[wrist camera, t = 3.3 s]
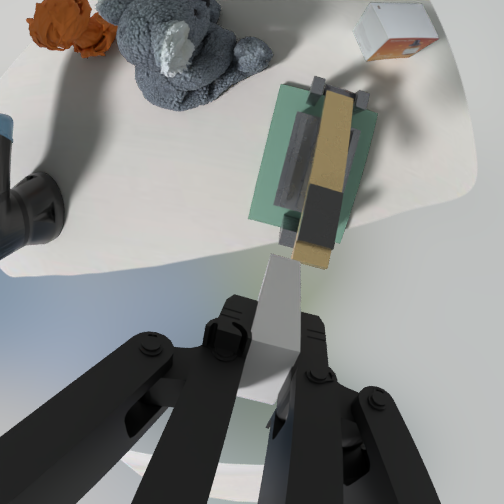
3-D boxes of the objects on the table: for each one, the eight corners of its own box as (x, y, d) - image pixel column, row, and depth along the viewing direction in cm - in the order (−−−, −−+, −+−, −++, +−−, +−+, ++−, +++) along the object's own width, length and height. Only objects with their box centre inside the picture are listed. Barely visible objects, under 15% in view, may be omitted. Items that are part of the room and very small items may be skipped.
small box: (364, 62, 31) (387, 39, 21) (351, 30, 29) (368, 1, 19) (410, 58, 29) (441, 39, 19) (396, 27, 27) (423, 2, 17)
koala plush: (282, 62, 32) (275, -2, 14) (188, 139, 38) (113, 141, 20) (208, -2, 29) (160, -68, 11) (126, 71, 35) (42, 48, 17)
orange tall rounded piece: (132, 4, 29) (71, -33, 13) (127, 52, 33) (54, 26, 17) (84, 24, 31) (19, 3, 14) (78, 70, 35) (6, 60, 18)
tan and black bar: (323, 89, 26) (327, 79, 25) (352, 98, 26) (357, 88, 25) (287, 260, 23) (290, 257, 22) (325, 270, 23) (331, 268, 22)
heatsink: (302, 90, 34) (306, 72, 24) (356, 107, 33) (378, 96, 24) (268, 221, 41) (262, 246, 32) (320, 235, 41) (329, 264, 32)
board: (280, 85, 34) (280, 84, 33) (375, 114, 33) (378, 113, 32) (249, 216, 42) (248, 218, 40) (338, 240, 41) (339, 243, 40)
